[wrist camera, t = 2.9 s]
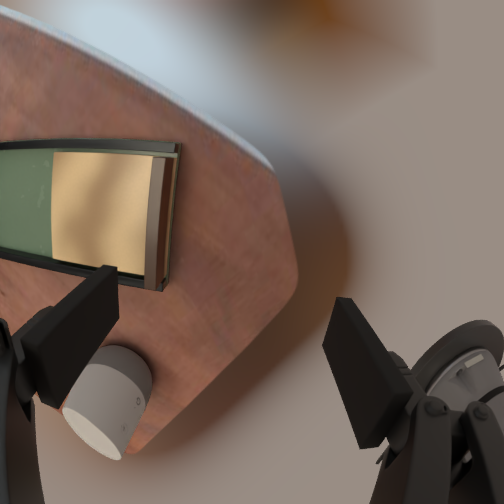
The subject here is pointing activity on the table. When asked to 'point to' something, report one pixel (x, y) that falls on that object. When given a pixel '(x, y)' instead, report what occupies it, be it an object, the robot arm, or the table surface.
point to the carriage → (113, 211)
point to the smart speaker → (109, 399)
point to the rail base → (39, 198)
